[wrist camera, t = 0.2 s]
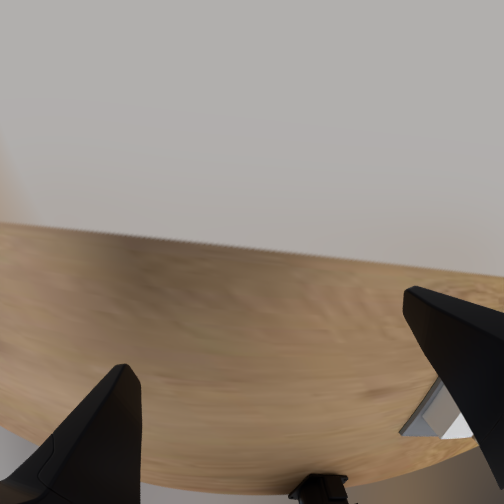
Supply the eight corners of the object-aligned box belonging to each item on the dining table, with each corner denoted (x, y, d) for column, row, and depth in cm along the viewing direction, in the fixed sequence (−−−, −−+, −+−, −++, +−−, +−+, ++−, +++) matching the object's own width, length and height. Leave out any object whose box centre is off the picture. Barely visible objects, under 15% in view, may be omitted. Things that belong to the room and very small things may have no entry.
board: (462, 432, 30) (464, 435, 29) (399, 432, 28) (401, 435, 27) (505, 366, 28) (508, 368, 27) (454, 348, 26) (458, 351, 26)
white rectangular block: (453, 418, 28) (470, 437, 23) (421, 416, 27) (440, 439, 22) (476, 383, 27) (497, 400, 22) (448, 377, 26) (470, 398, 21)
